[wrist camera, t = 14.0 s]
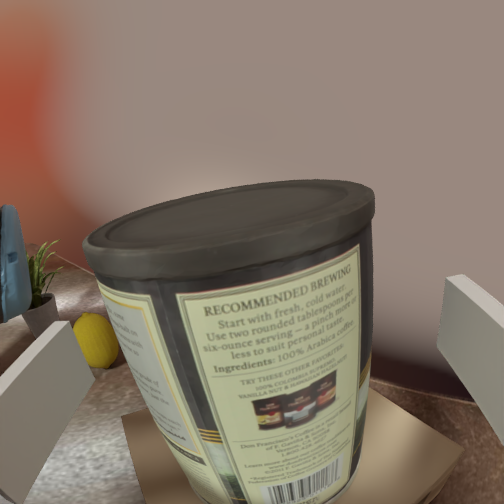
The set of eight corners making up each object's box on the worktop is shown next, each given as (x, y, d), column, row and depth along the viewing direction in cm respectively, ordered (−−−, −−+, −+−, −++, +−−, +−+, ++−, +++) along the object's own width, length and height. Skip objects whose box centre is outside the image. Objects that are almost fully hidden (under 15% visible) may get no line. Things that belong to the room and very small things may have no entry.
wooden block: (149, 462, 21) (121, 416, 19) (309, 393, 28) (306, 343, 26) (229, 623, 7) (200, 618, 5) (438, 494, 14) (465, 448, 12)
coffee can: (268, 375, 22) (236, 181, 18) (393, 430, 15) (415, 178, 11) (152, 453, 16) (58, 232, 12) (274, 562, 9) (171, 284, 4)
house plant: (106, 321, 47) (77, 225, 42) (46, 365, 35) (2, 257, 30) (62, 310, 53) (37, 230, 48) (10, 344, 41) (-24, 256, 36)
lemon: (118, 381, 32) (94, 323, 30) (81, 380, 32) (55, 325, 30) (132, 354, 38) (112, 300, 35) (97, 355, 38) (76, 303, 35)
